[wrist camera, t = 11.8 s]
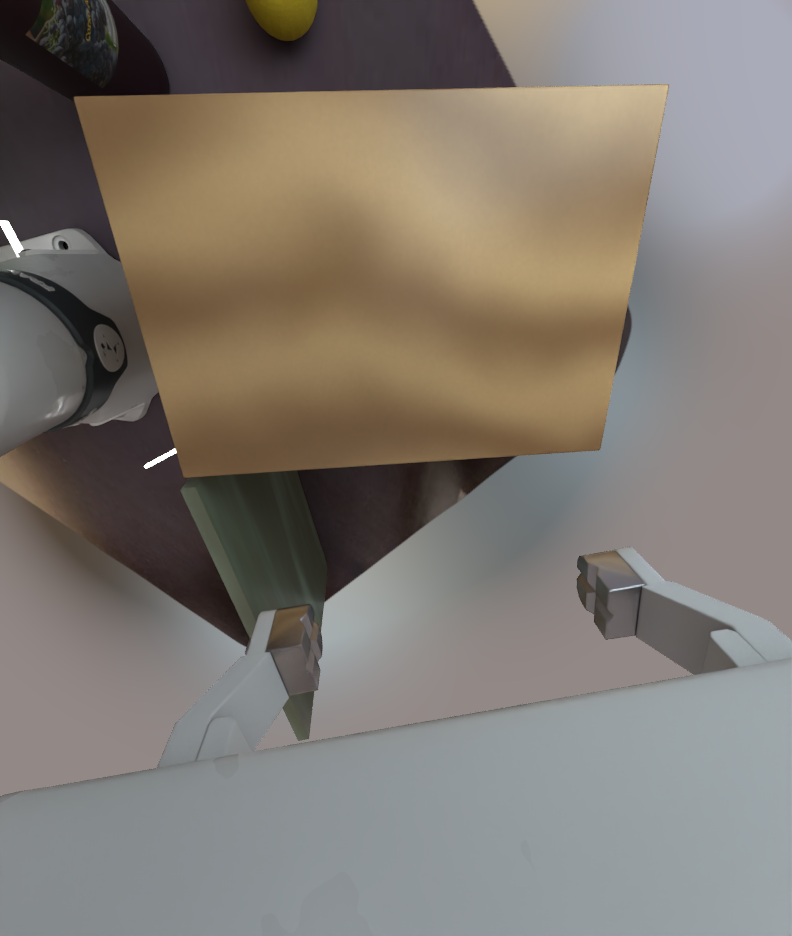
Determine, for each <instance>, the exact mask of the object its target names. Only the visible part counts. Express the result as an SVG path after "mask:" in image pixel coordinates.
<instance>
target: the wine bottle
mask: <svg viewBox="0 0 792 936" xmlns="http://www.w3.org/2000/svg"><path fill="white" fill-rule="evenodd" d="M0 59H2V60H3V61H5V62H7V63H8V64H10V65H12V66H14V67H15V68H17V69H19V70H20V71H22V72H24V73H26V74H27V75H29V76H31V77H33V78H34V79H36V80H38V81H39V82H41V83H43V84H45V85H46V86H48V87H50V88H51V89H53V90H55V91H57V92H58V93H60V94H62V95H64V96H65V97H67V98H69V99H70V100H72V101H74V97H75V96H123V95H169V83H168V78H167V74H166V71H165V68H164V66H163V63H162V61H161V59H160V57H159V55H158V53H157V51H156V50H155V48H154V47H153V45H152V44H151V43H150V41H149V40H148V39H147V38H146V37H145V36H144V35H143V34H142V33H141V32H140V31H139V29H138V28H137V27H136V26H135V25H134V24H133V23H132V22H131V21H130V20H129V19H128V18H127V17H126V15H125V14H124V13H123V12H122V11H121V10H120V9H119V8H118V7H117V6H116V5H115V4H114V3H113V2H112V0H0Z"/></svg>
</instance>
